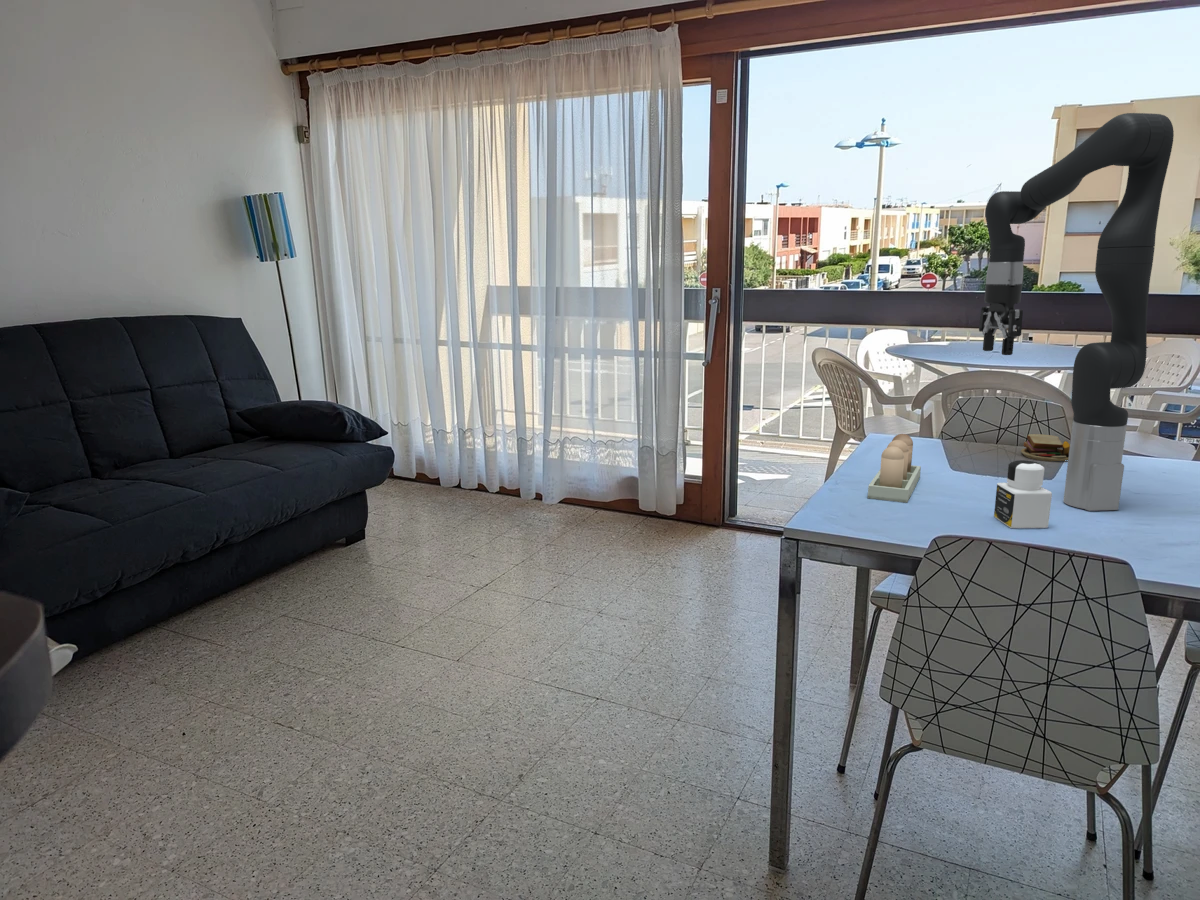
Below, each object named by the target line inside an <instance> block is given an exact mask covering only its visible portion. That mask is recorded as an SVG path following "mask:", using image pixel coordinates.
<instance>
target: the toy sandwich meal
mask: <svg viewBox="0 0 1200 900" xmlns="http://www.w3.org/2000/svg"><path fill="white" fill-rule="evenodd" d="M1026 438H1027V440H1026V441H1023V447H1025V448H1022V449H1020V452H1021V454H1022V455H1023V456H1025V457H1026V458H1029V459H1032V460H1036V461H1043V462H1052V461H1064V462H1066V461H1065V460H1068V457H1069V449H1070V442H1069V441H1063V442H1062V441H1061V440H1060V437H1059V436H1056V435H1051V434H1039V433H1035V434H1034V433H1030V434H1027V437H1026Z"/></svg>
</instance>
